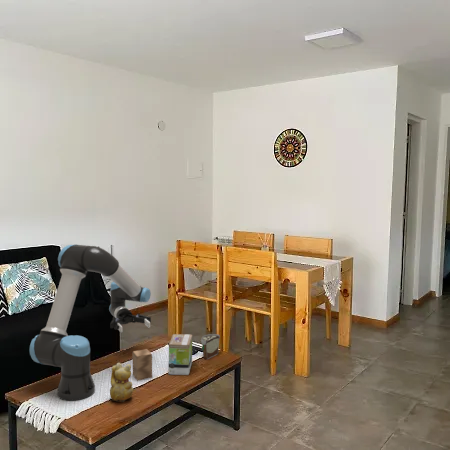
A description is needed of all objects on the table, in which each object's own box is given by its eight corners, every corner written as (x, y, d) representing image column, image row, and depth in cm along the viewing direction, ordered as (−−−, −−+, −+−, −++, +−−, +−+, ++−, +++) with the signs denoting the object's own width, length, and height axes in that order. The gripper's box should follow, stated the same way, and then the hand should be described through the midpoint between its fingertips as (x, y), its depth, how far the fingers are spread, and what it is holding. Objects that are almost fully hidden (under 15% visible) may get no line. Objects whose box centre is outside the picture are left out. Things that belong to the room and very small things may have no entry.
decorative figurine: (135, 395, 196) (134, 361, 195) (129, 405, 188) (129, 369, 187) (112, 394, 197) (112, 360, 196) (106, 404, 189) (105, 368, 187)
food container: (210, 350, 248) (210, 332, 247) (219, 353, 244) (220, 334, 243) (195, 357, 238) (195, 338, 237) (205, 360, 234) (205, 341, 233)
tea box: (189, 375, 217) (189, 344, 215) (167, 375, 217) (167, 344, 215) (192, 362, 232) (192, 333, 230) (172, 362, 232) (172, 333, 230)
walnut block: (137, 380, 211) (137, 356, 210) (132, 374, 217) (132, 351, 216) (152, 377, 214) (152, 353, 213) (147, 372, 220) (147, 348, 219)
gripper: (146, 318, 247) (160, 330, 228) (99, 325, 235) (109, 339, 217) (146, 305, 246) (160, 316, 228) (98, 311, 235) (109, 323, 216)
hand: (135, 327), depth 222 cm, fingers open, 13 cm apart
